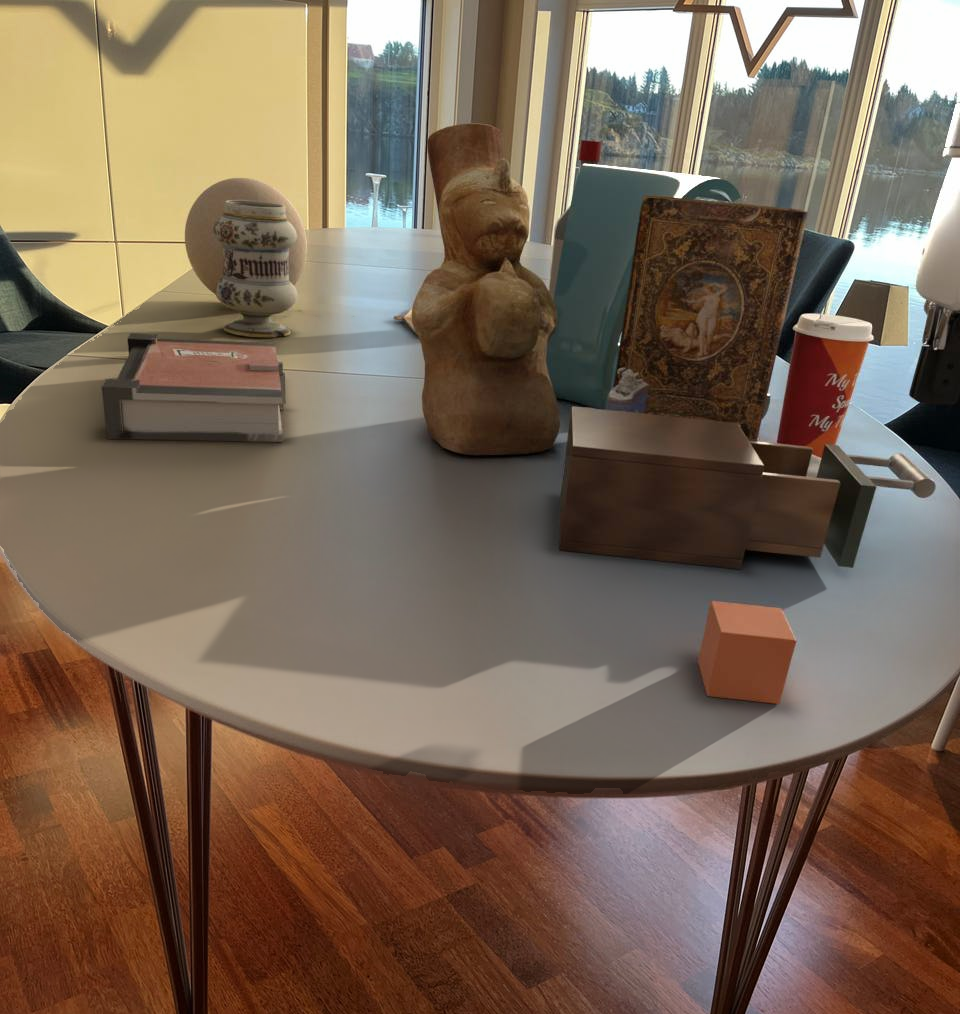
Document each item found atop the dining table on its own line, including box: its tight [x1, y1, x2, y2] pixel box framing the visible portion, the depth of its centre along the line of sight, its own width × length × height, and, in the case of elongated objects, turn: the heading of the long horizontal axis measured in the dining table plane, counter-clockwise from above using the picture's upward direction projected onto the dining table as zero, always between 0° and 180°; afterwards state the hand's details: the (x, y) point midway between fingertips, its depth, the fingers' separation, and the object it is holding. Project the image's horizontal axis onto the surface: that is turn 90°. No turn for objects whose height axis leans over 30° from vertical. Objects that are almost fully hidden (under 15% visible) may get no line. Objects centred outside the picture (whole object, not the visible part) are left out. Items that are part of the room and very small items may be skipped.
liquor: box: [547, 139, 603, 300], centre depth 168 cm, size 9×9×30 cm
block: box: [697, 600, 797, 705], centre depth 58 cm, size 4×4×4 cm
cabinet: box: [558, 405, 764, 570], centre depth 79 cm, size 15×13×9 cm
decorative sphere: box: [184, 177, 308, 296], centre depth 159 cm, size 20×20×20 cm
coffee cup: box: [776, 313, 875, 458], centre depth 102 cm, size 8×8×15 cm
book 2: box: [613, 195, 809, 442], centre depth 100 cm, size 16×6×25 cm, turn 82°
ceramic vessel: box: [411, 122, 561, 456], centre depth 98 cm, size 16×22×30 cm
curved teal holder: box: [546, 164, 772, 420], centre depth 116 cm, size 26×28×28 cm
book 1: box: [101, 332, 287, 443], centre depth 103 cm, size 26×18×5 cm
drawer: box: [745, 440, 937, 568], centre depth 79 cm, size 19×11×7 cm, turn 85°
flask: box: [606, 368, 649, 413], centre depth 91 cm, size 9×3×11 cm, turn 158°
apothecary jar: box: [214, 200, 298, 339], centre depth 140 cm, size 12×12×18 cm
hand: (932, 400), depth 74 cm, fingers closed
